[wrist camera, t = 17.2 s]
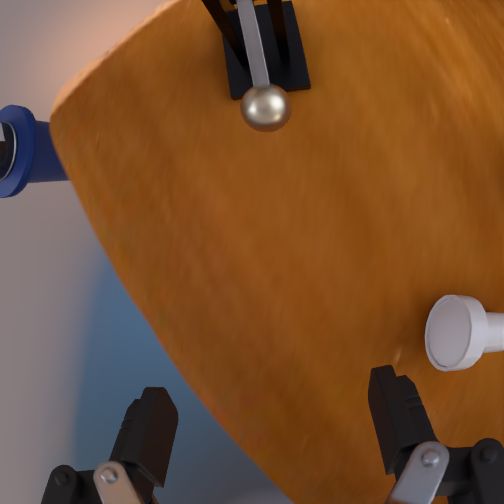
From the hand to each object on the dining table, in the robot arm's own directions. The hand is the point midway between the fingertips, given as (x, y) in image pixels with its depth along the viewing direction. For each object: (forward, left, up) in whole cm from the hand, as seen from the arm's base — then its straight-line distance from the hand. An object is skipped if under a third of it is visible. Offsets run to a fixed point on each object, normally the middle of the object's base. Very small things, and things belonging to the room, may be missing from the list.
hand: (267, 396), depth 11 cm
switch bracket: (-4, +22, -22) cm, 32 cm away
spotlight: (+21, -6, -22) cm, 32 cm away
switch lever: (-3, +18, -13) cm, 22 cm away
